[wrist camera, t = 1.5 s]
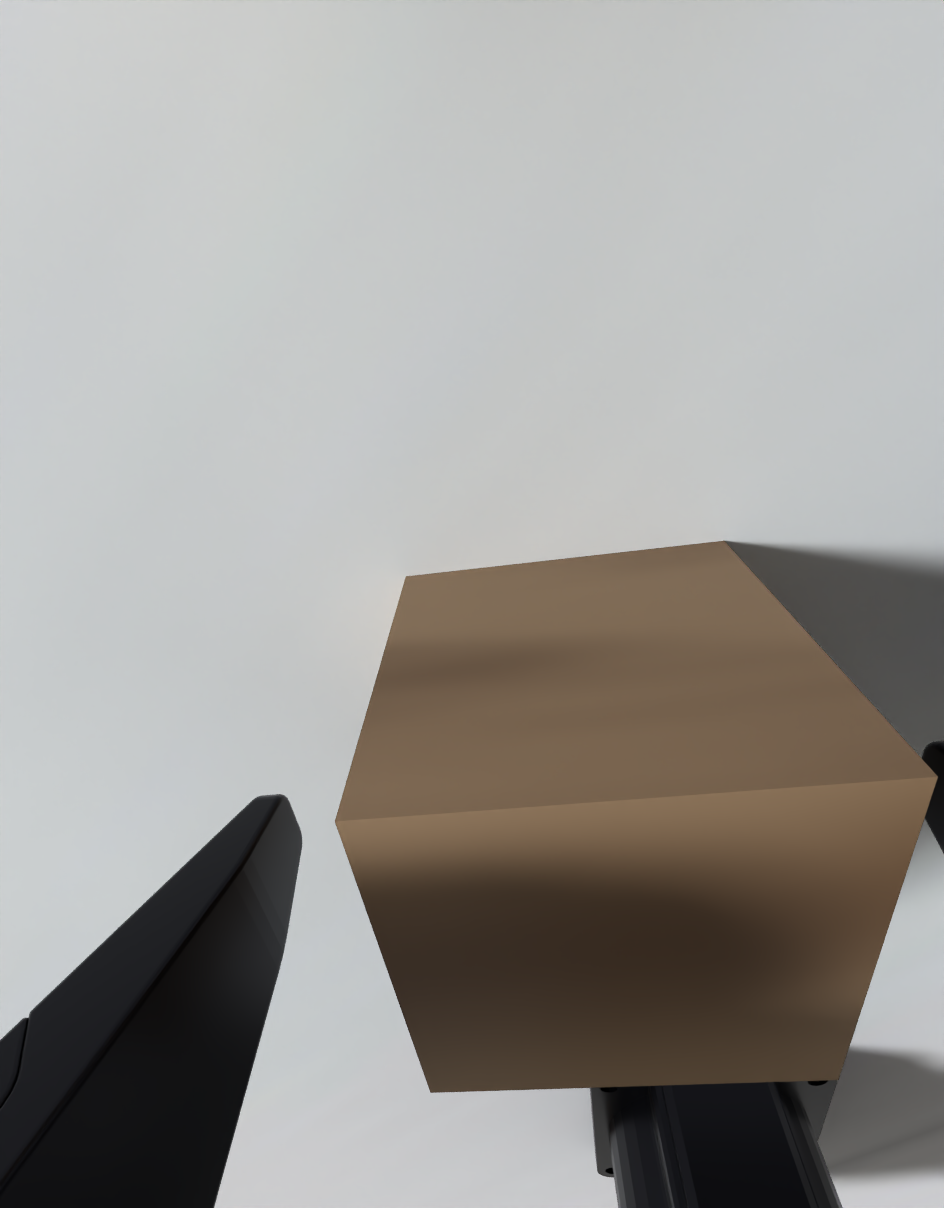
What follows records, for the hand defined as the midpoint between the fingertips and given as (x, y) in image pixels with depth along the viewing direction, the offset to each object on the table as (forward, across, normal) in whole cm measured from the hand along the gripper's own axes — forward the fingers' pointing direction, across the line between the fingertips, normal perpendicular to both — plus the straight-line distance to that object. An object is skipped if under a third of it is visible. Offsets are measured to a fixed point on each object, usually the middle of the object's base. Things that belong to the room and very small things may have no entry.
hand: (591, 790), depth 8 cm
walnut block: (+2, 0, 0) cm, 2 cm away
